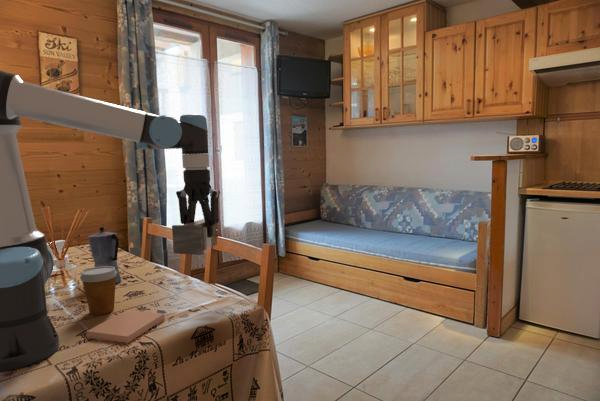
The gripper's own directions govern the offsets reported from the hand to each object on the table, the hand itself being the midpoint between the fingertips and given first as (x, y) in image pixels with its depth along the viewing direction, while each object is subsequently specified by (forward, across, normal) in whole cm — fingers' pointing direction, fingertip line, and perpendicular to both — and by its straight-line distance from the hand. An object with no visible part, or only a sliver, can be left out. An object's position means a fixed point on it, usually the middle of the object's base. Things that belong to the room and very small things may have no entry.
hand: (201, 247), depth 119 cm
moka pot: (+17, +43, -8) cm, 47 cm away
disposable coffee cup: (+17, +25, +14) cm, 33 cm away
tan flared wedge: (0, 0, +1) cm, 1 cm away
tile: (+16, +9, +15) cm, 24 cm away
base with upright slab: (+17, +75, -15) cm, 78 cm away
